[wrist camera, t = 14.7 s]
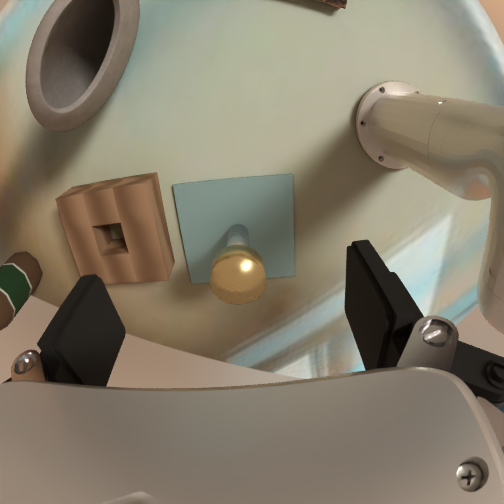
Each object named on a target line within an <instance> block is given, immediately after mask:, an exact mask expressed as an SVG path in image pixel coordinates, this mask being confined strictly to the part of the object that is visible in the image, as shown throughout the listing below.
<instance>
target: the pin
mask: <svg viewBox="0 0 504 504" xmlns="http://www.w3.org/2000/svg"><path fill="white" fill-rule="evenodd" d="M210 285H211V289H212V291H213V292H214V294H215V295H216V296H217V297H218V298H219V299H221V300H223V301H225V302H227V303H230V304H246V303H249V302H252V301H254V300H255V299H257V298H258V297H259V296H260V295H261V294H262V292H263V291H264V289H265V285H266V277H265V270H264V263H263V260H262V257H261V256H260V254H259V253H258V252H257V251H255V250H254V249H252V248H250V245H249V232H248V229H247V228H246V227H245V226H244V225H242V224H234V225H232V226H231V227H230V228H229V229H228V232H227V245H226V247H225V248H224V249H222V250H221V251H219V252H218V253H217V254H216V256H215V257H214V260H213V263H212V269H211V277H210Z"/></svg>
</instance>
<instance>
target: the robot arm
mask: <svg viewBox="0 0 504 504" xmlns="http://www.w3.org/2000/svg"><path fill="white" fill-rule="evenodd" d="M379 88H380V89H381V91H379ZM361 121H362V122H363V124H360V123H361ZM356 131H357V135H358V139H359V142H360V144H361V145H362V147H363V149H364V150H365V152H366V153H367V154H368V156H370V157H371V158H372V159H373V160H374V161H376V162H377V163H379V164H381V165H383V166H385V167H388V168H392V169H404V168H410V169H412V170H414V171H416V172H417V173H419V174H421V175H422V176H424V177H426V178H427V179H429V180H431V181H432V182H434V183H436V184H437V185H439V186H440V187H442V188H444V189H445V190H447V191H449V192H450V193H452V194H454V195H455V196H457V197H459V198H462V199H465V200H474V201H477V200H483V199H487V198H490V197H491V210H490V217H489V220H490V222H489V228H488V234H487V240H486V245H485V250H484V255H483V260H482V265H481V269H480V274H479V279H478V286H477V299H478V304H479V307H480V310H481V312H482V314H483V316H484V317H485V319H486V320H487V321H488V322H489V323H490V324H491V325H492V326H493V327H494V328H495V329H497V330H498V331H500V332H501V333H503V334H504V107H502V106H495V105H489V104H482V103H477V102H471V101H466V100H460V99H454V98H447V97H440V96H433V95H425V94H422V93H421V91H419V90H418V89H417V88H415V87H414V86H412V85H410V84H408V83H405V82H401V81H385V82H382V83H379V84H377V85H375V86H374V87H372V88H371V89H370V90H369V91H368V92H367V93H366V94H365V95H364V97H363V98H362V99H361V101H360V104H359V106H358V109H357V114H356ZM379 156H380V158H379ZM378 158H379V159H378ZM345 313H346V316H347V319H348V321H349V324H350V327H351V330H352V332H353V335H354V338H355V341H356V344H357V347H358V349H359V352H360V355H361V358H362V361H363V364H364V367H365V370H366V371H359V372H352V373H346V374H339V375H333V376H326V377H319V378H311V379H303V380H295V381H287V382H279V383H269V384H258V385H246V386H231V387H213V388H178V389H177V388H171V389H162V388H160V389H158V388H156V389H154V388H122V387H121V388H120V387H106V385H107V383H108V380H109V377H110V374H111V371H112V369H113V366H114V363H115V361H116V358H117V356H118V353H119V350H120V348H121V345H122V343H123V340H124V338H125V333H126V332H125V327H124V325H123V323H122V321H121V319H120V317H119V315H118V313H117V311H116V309H115V307H114V305H113V303H112V300H111V298H110V296H109V294H108V292H107V289H106V287H105V285H104V283H103V280H102V279H101V278H100V277H98V276H97V275H96V274H90V275H83V276H82V277H81V278H80V279H79V281H78V282H77V284H76V285H75V286H74V288H73V289H72V291H71V292H70V294H69V295H68V296H67V298H66V299H65V301H64V302H63V304H62V305H61V307H60V308H59V310H58V311H57V313H56V314H55V316H54V318H53V319H52V321H51V322H50V324H49V325H48V327H47V329H46V330H45V332H44V333H43V335H42V337H41V338H40V340H39V342H38V343H37V345H38V346H39V348H40V349H41V353H40V354H39V353H38V352H37V351H36V350H27V351H25V352H23V353H21V354H20V355H19V356H18V357H17V358H16V359H15V360H14V362H13V364H12V367H11V376H12V377H11V378H9V379H8V380H6V381H5V382H3V383H2V384H0V504H504V357H501V356H498V355H495V354H493V353H490V352H488V351H485V350H482V349H480V348H477V347H474V346H472V345H469V344H466V343H463V342H461V341H458V338H459V333H458V330H457V328H456V327H455V325H454V324H453V323H452V322H451V321H449V320H448V319H446V318H443V317H440V316H427V317H424V316H423V314H422V313H421V311H420V310H419V308H418V306H417V305H416V303H415V302H414V300H413V298H412V297H411V295H410V294H409V292H408V291H407V289H406V288H405V286H404V285H403V283H402V282H401V280H400V279H399V277H398V276H397V274H396V273H395V272H390V271H389V269H388V268H387V266H386V265H385V263H384V262H383V261H382V259H381V258H380V256H379V255H378V253H377V252H376V250H375V249H374V247H373V246H372V245H371V243H370V242H369V240H360V241H353V242H352V244H351V246H348V247H347V259H346V288H345Z"/></svg>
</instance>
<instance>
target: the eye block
mask: <svg viewBox="0 0 504 504" xmlns="http://www.w3.org/2000/svg"><path fill="white" fill-rule="evenodd" d="M56 202H57V206H58V209H59V213H60V216H61V219H62V223H63V226H64V229H65V232H66V235H67V238H68V241H69V244H70V247H71V250H72V253H73V256H74V259H75V261H76V264H77V267H78V270H79V272H80V275H81V277H82V276H83V275H90V274H96V275H97V276H98V277H100V278H101V279H102V280H103V283H104V284H112V283H131V282H149V281H166V280H169V277H170V274H171V271H172V268H173V265H174V262H175V260H174V256H173V251H172V247H171V242H170V238H169V233H168V228H167V223H166V218H165V213H164V208H163V202H162V197H161V191H160V186H159V180H158V174H157V172H156V173H149V174H142V175H136V176H130V177H124V178H118V179H112V180H106V181H101V182H96V183H91V184H85V185H80V186H76V187H72V188H70V189H69V190H67V191H66V192H65V193H63V194H62V195H61V196H59V197H58V198H56ZM113 223H121V226H122V230H123V234H124V237H125V238H123V239H113V240H112V236H111V233H110V229H109V225H108V224H113Z"/></svg>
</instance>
